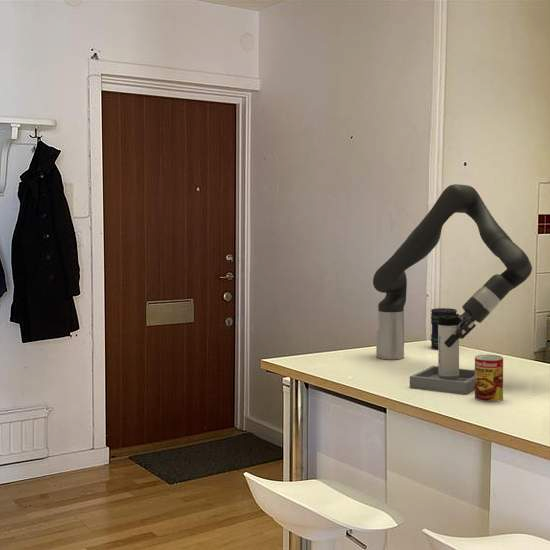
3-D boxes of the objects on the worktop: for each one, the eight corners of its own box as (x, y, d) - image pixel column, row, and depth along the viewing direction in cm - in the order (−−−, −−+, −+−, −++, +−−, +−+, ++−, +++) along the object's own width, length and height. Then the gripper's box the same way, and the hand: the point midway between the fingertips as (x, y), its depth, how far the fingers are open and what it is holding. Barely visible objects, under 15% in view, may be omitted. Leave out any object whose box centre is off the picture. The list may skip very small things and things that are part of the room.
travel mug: (460, 375, 247) (460, 312, 246) (458, 380, 241) (457, 315, 239) (440, 374, 250) (439, 311, 248) (437, 379, 243) (436, 314, 241)
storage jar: (426, 347, 309) (425, 309, 307) (447, 345, 312) (447, 307, 311) (439, 351, 299) (440, 312, 298) (462, 349, 303) (462, 310, 302)
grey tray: (409, 387, 243) (409, 376, 243) (432, 376, 258) (432, 365, 257) (466, 394, 233) (466, 382, 233) (486, 382, 248) (486, 371, 248)
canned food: (469, 398, 228) (469, 357, 227) (483, 393, 234) (483, 353, 233) (493, 403, 223) (494, 361, 222) (508, 397, 228) (508, 356, 227)
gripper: (465, 293, 250) (429, 331, 251) (480, 298, 236) (441, 339, 237) (482, 309, 251) (445, 347, 252) (497, 315, 237) (458, 356, 237)
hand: (443, 343), depth 244 cm, fingers closed on travel mug, 6 cm apart
